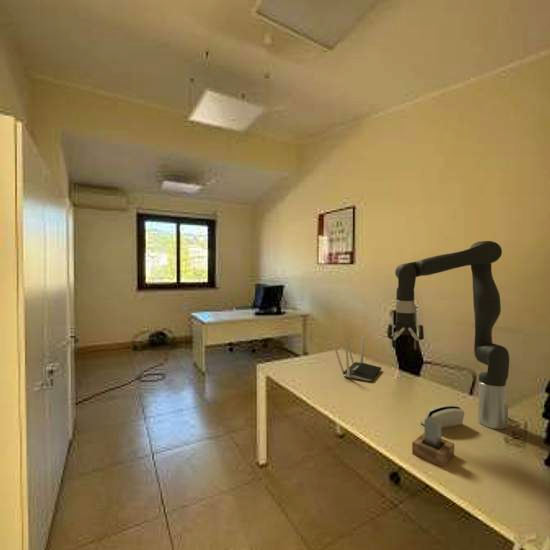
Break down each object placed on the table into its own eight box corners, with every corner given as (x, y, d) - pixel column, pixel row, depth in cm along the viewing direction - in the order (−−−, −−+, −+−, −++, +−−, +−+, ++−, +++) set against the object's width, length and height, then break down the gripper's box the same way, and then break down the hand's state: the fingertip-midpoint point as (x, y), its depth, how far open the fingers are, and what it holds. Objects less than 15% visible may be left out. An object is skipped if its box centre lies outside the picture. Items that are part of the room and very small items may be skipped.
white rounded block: (452, 418, 136) (459, 400, 132) (461, 427, 131) (468, 408, 128) (419, 423, 132) (425, 404, 128) (426, 433, 127) (433, 413, 124)
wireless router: (369, 385, 174) (369, 349, 173) (329, 378, 186) (329, 344, 186) (383, 368, 202) (383, 337, 202) (348, 363, 215) (348, 333, 214)
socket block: (424, 442, 117) (424, 432, 117) (454, 454, 110) (454, 443, 110) (412, 453, 111) (412, 442, 111) (442, 467, 103) (442, 454, 103)
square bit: (429, 449, 113) (429, 416, 113) (441, 454, 110) (441, 420, 110) (424, 454, 110) (424, 420, 110) (436, 459, 107) (436, 424, 107)
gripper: (389, 312, 132) (389, 350, 132) (425, 312, 130) (425, 351, 130) (386, 309, 139) (386, 346, 140) (420, 310, 137) (420, 347, 138)
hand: (405, 348), depth 135 cm, fingers open, 8 cm apart
